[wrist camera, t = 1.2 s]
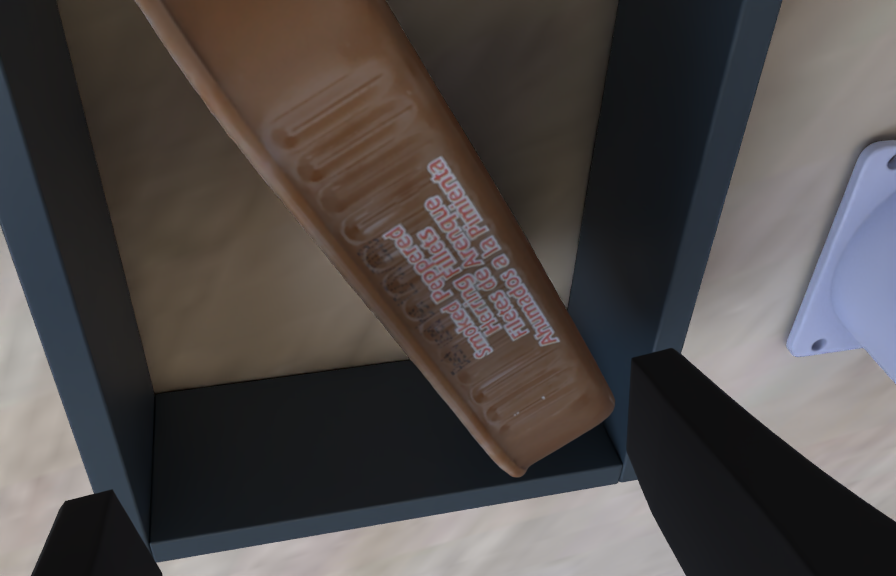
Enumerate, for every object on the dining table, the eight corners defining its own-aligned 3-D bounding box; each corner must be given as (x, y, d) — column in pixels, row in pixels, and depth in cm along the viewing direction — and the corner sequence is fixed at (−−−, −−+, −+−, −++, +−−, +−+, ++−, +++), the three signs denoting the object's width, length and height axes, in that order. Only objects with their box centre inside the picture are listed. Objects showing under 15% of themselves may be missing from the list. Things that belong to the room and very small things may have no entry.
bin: (746, -517, 14) (943, -550, 11) (582, 355, 27) (646, 479, 23) (-154, -592, 12) (-314, -673, 8) (129, 417, 24) (119, 569, 21)
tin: (59, -231, 15) (-36, -88, 8) (212, -336, 14) (233, -269, 8) (445, 305, 24) (536, 559, 18) (543, 252, 24) (671, 493, 18)
